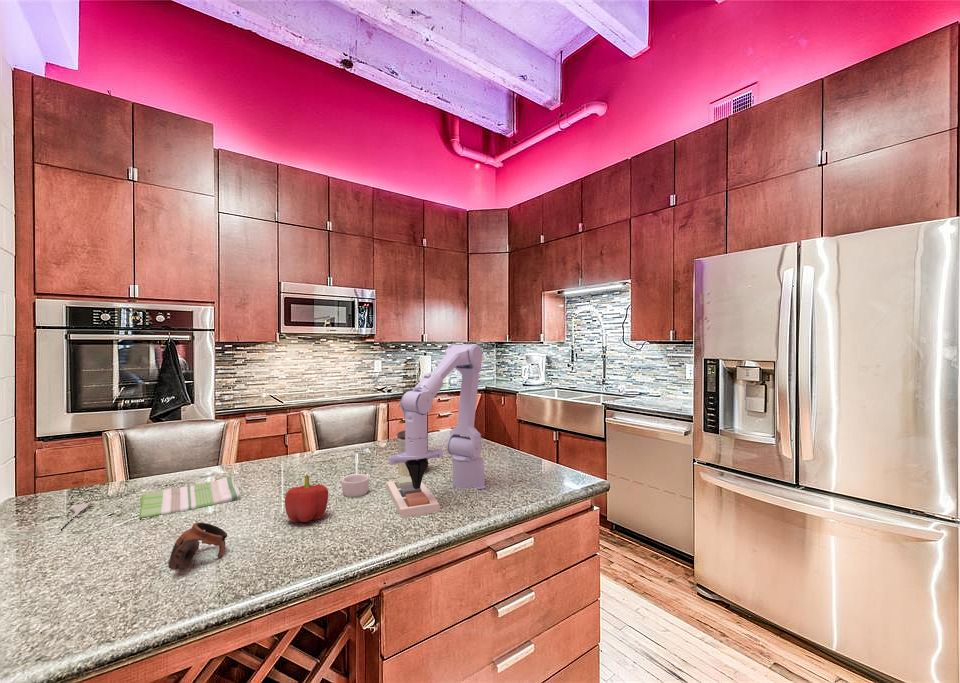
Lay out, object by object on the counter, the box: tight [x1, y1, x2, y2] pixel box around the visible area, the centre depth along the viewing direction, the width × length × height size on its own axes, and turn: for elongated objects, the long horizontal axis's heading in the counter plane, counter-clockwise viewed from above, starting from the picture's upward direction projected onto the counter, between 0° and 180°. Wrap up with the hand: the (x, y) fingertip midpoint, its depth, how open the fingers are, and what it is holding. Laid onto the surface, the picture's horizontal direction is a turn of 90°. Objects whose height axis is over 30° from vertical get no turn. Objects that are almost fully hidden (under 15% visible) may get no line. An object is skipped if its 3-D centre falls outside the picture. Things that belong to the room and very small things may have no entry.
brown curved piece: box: [168, 522, 228, 570], centre depth 89 cm, size 12×10×8 cm
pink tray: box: [385, 480, 440, 519], centre depth 120 cm, size 10×22×3 cm, turn 22°
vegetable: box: [284, 475, 329, 523], centre depth 110 cm, size 11×10×10 cm
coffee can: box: [396, 430, 429, 477], centre depth 144 cm, size 10×10×14 cm
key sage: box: [395, 476, 412, 489], centre depth 127 cm, size 5×5×2 cm
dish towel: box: [138, 475, 242, 520], centre depth 123 cm, size 17×23×4 cm
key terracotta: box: [406, 492, 428, 507], centre depth 114 cm, size 5×5×2 cm
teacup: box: [341, 473, 370, 498], centre depth 126 cm, size 10×8×5 cm
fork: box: [71, 502, 95, 518], centre depth 111 cm, size 3×21×3 cm, turn 22°
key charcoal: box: [401, 484, 421, 497], centre depth 120 cm, size 5×5×2 cm
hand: (416, 487), depth 113 cm, fingers closed
